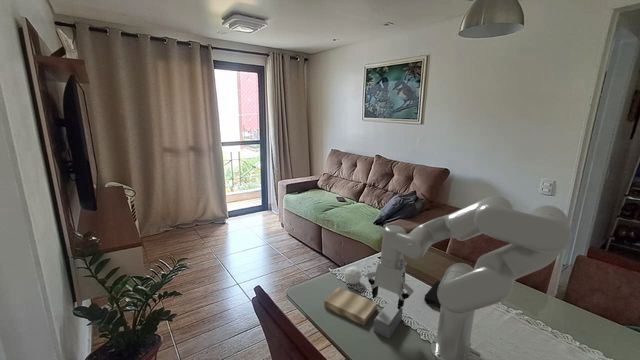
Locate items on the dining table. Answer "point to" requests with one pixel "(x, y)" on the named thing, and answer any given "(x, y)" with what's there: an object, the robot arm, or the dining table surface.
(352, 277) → the geometric ball
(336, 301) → the oak stand
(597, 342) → the dining table surface
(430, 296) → the black sponge
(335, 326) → the dining table surface
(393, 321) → the grey rectangular block
